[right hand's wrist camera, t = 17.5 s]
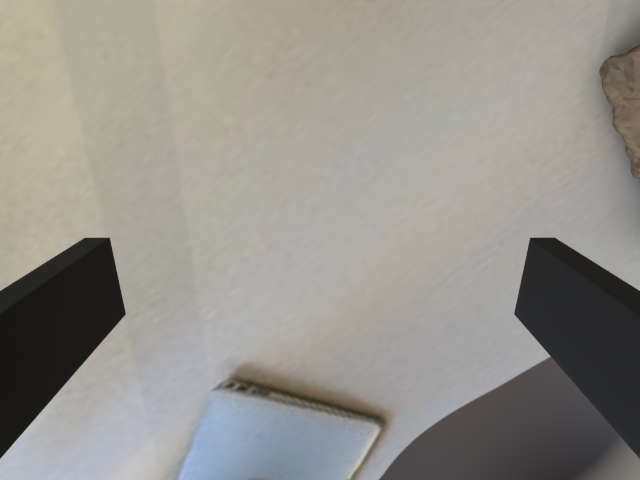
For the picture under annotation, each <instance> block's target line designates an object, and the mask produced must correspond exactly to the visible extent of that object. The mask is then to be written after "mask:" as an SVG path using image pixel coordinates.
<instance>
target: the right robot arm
mask: <svg viewBox="0 0 640 480" xmlns="http://www.w3.org/2000/svg"><path fill="white" fill-rule="evenodd" d="M125 314H126V313H125V308H124V304H123V299H122V294H121V289H120V285H119V280H118V275H117V270H116V266H115V261H114V256H113V251H112V247H111V242H110V238H84V239H82V240H81V241H79V242H78V243H76V244H74V245H73V246H71V247H70V248H68V249H67V250H65V251H63V252H62V253H60V254H59V255H57V256H55V257H54V258H52V259H51V260H49V261H47V262H46V263H44V264H43V265H41V266H39V267H38V268H36V269H35V270H33V271H31V272H30V273H28V274H27V275H25V276H24V277H22V278H20V279H19V280H17V281H16V282H14V283H12V284H11V285H9V286H8V287H6V288H4V289H3V290H1V291H0V458H1V457H2V456H3V455H4V454H5V453H6V451H7V450H8V449H9V448H10V447H11V446H12V444H13V443H14V442H15V441H16V440H17V439H18V438H19V436H20V435H21V434H22V433H23V432H24V431H25V429H26V428H27V427H28V426H29V425H30V424H31V423H32V421H33V420H34V419H35V418H36V417H37V416H38V415H39V413H40V412H41V411H42V410H43V409H44V408H45V406H46V405H47V404H48V403H49V402H50V401H51V400H52V398H53V397H54V396H55V395H56V394H57V393H58V392H59V390H60V389H61V388H62V387H63V386H64V385H65V383H66V382H67V381H68V380H69V379H70V378H71V377H72V375H73V374H74V373H75V372H76V371H77V370H78V368H79V367H80V366H81V365H82V364H83V363H84V362H85V360H86V359H87V358H88V357H89V356H90V355H91V354H92V352H93V351H94V350H95V349H96V348H97V347H98V345H99V344H100V343H101V342H102V341H103V340H104V339H105V337H106V336H107V335H108V334H109V333H110V332H111V330H112V329H113V328H114V327H115V326H116V325H117V324H118V322H119V321H120V320H121V319H122V318H123V317H124V316H125ZM514 314H515V316H516V317H517V318H518V319H519V320H520V321H521V322H522V324H523V325H524V326H525V327H526V328H527V329H528V330H529V332H530V333H531V334H532V335H533V336H534V337H535V339H536V340H537V341H538V342H539V343H540V344H541V345H542V347H543V348H544V349H545V350H546V351H547V352H548V354H549V355H550V356H551V357H552V358H553V359H554V360H555V362H556V363H557V364H558V365H559V366H560V367H561V368H562V370H563V371H564V372H565V373H566V374H567V375H568V377H569V378H570V379H571V380H572V381H573V382H574V383H575V385H576V386H577V387H578V388H579V389H580V390H581V392H582V393H583V394H584V395H585V396H586V397H587V398H588V400H589V401H590V402H591V403H592V404H593V405H594V406H595V408H596V409H597V410H598V411H599V412H600V413H601V415H602V416H603V417H604V418H605V419H606V420H607V421H608V423H609V424H610V425H611V426H612V427H613V428H614V429H615V431H616V432H617V433H618V434H619V435H620V436H621V438H622V439H623V440H624V441H625V442H626V443H627V444H628V446H629V447H630V448H631V449H632V450H633V451H634V453H635V454H636V455H637V456H638V457H639V458H640V291H639V290H637V289H636V288H634V287H632V286H631V285H629V284H628V283H626V282H624V281H623V280H621V279H620V278H618V277H616V276H615V275H613V274H612V273H610V272H609V271H607V270H605V269H604V268H602V267H601V266H599V265H597V264H596V263H594V262H593V261H591V260H589V259H588V258H586V257H585V256H583V255H581V254H580V253H578V252H577V251H575V250H573V249H572V248H570V247H569V246H567V245H566V244H564V243H562V242H561V241H559V240H558V239H556V238H530V242H529V247H528V251H527V256H526V261H525V266H524V270H523V275H522V280H521V285H520V289H519V294H518V299H517V304H516V308H515V313H514Z"/></svg>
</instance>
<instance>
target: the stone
mask: <svg viewBox="0 0 640 480" xmlns="http://www.w3.org/2000/svg"><path fill="white" fill-rule="evenodd" d="M600 75H601V77H602V87H603V90H604V93H605V95H606V97H607V99H608V101H609V103H610V104H611V105H612V107H613V116H614V119H613V123H612V124H613V126H614V128H615V129H616V131H617V132H618V133H619V134H620V135H621V136H622V137H623V139H624V141H625V143H626V153H627V154H628V156H629V158H630V161H631V173H632V175H633V177H634V178H639V179H640V46H637V47H635V48H633V49H631V50H629V51H628V52H627V53H625V54H622V55H619V56H611V57H609V58H608V59H607V60H605V61H604V63H603V65H602V67H601V68H600Z"/></svg>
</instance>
